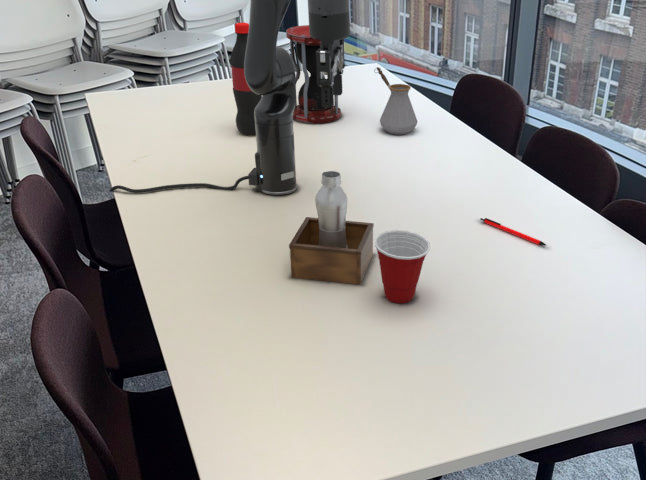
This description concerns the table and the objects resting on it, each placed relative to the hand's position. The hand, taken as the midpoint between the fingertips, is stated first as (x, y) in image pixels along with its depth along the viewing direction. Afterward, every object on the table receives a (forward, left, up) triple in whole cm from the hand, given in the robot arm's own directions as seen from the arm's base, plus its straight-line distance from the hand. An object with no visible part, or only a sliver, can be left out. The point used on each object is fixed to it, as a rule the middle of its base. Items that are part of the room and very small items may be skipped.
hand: (332, 100), depth 148 cm
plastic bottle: (+1, -7, -32) cm, 33 cm away
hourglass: (-27, +91, -32) cm, 100 cm away
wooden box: (+1, -7, -32) cm, 33 cm away
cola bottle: (-42, +71, -32) cm, 88 cm away
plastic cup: (+17, -17, -32) cm, 40 cm away
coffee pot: (-2, +87, -32) cm, 93 cm away
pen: (+38, +17, -32) cm, 53 cm away
